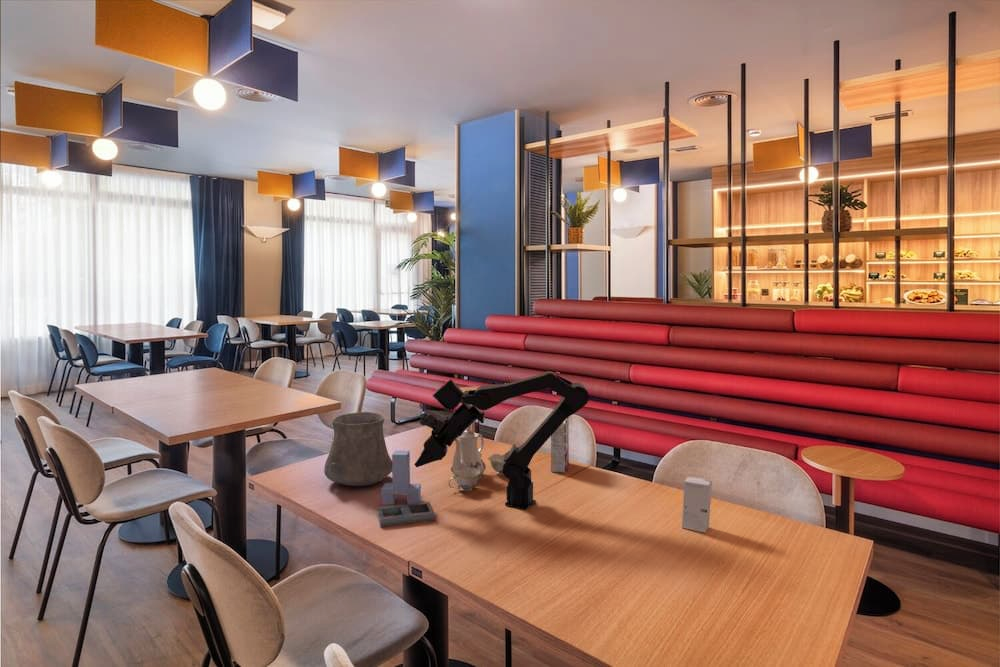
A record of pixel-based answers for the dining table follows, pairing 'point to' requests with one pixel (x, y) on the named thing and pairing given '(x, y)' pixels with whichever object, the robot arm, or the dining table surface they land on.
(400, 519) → the rail
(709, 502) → the skincare box
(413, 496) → the blue-gray inverted t block
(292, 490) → the dining table surface
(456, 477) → the chinaware
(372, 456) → the vessel
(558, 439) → the candy bar box
